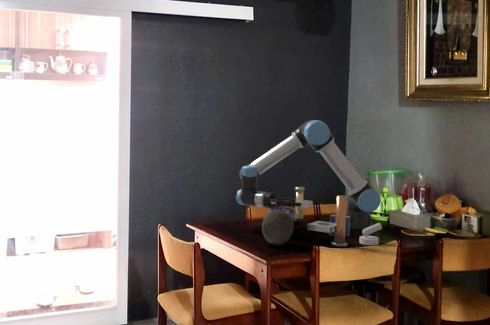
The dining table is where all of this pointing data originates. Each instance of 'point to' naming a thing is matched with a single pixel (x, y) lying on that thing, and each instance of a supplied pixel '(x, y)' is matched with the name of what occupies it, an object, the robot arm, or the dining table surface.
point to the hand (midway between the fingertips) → (310, 204)
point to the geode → (284, 209)
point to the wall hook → (370, 239)
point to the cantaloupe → (277, 227)
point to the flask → (347, 225)
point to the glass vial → (299, 198)
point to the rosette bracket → (334, 227)
